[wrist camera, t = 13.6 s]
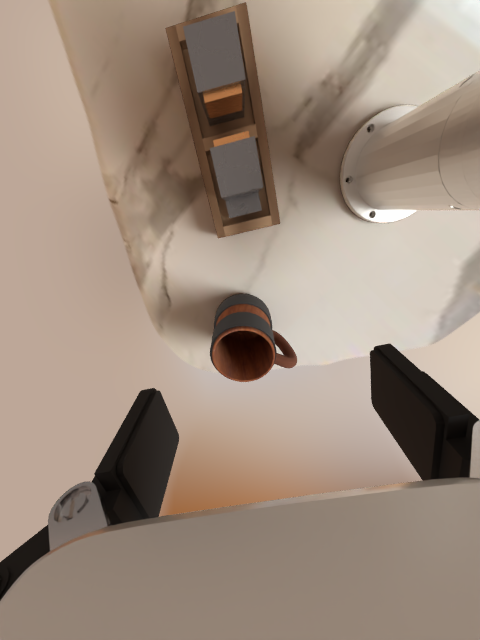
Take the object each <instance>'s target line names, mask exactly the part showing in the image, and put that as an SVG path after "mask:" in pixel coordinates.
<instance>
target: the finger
mask: <svg viewBox="0 0 480 640" xmlns="http://www.w3.org/2000/svg"><path fill="white" fill-rule="evenodd" d="M183 29H184V34H185V38H186V43H187V47H188V52H189V57H190V61H191V66H192V70H193V75H194V79H195V84H196V88H197V93H198V96H199V98H200V101H201V104H202V106H203V109H204V112H205V115H206V117H207V120H208V123H209V125H210V126H214V125H217V124H221V123H225V122H229V121H232V120H236V119H240V118H244V110H245V82H246V79H245V72H244V66H243V60H242V53H241V47H240V41H239V34H238V28H237V22H236V16H235V11H233V12H230V13H226V14H223V15H220V16H216V17H213V18H210V19H206V20H203V21H200V22H197V23H193V24H190V25H187V26H183Z"/></svg>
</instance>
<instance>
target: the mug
mask: <svg viewBox="0 0 480 640" xmlns="http://www.w3.org/2000/svg"><path fill="white" fill-rule="evenodd" d="M275 344H276V345H277V346H278V347H279V349H280V350H281V351H282V353H283V354H284V355H281V354H278V353H276V347H275ZM210 357H211V361H212V363H213V365H214V367H215V368H216V369H217V370H218V371H219V372H220V373H221V374H222V375H224V376H225V377H227V378H229V379H231V380H235V381H239V382H249V381H254V380H257V379H259V378H261V377H263V376H264V375H266V374H267V373H268V372H269V371H270V369H271V368H272V366H273V365H274V364H277V365H279V366H281V367H285V368H292V367H294V366H295V365H296V363H297V356H296V354H295V352H294V350H293V349H292V347H291V346H290V344H289V343H288V342H287V341H286V340H285V339H284V338H283V337H282V336H281V335H280V334H279V333H277V332H275V331H273V330H272V320H271V316H270V313H269V310H268V308H267V306H266V305H265V304H264V302H263V301H261V300H260V299H259V298H257V297H255V296H252V295H249V294H237V295H234V296H231V297H229V298H227V299H226V300H225V301H223V302H222V303H221V305H220V306H219V308H218V310H217V312H216V316H215V321H214V332H213V336H212V343H211V348H210Z"/></svg>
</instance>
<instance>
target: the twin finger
mask: <svg viewBox="0 0 480 640" xmlns="http://www.w3.org/2000/svg"><path fill="white" fill-rule="evenodd" d="M213 143H214V147H213V148H210V151H211V156H212V160H213V164H214V169H215V173H216V177H217V182H218V186H219V190H220V195H221V198H222V199H224V200H225V201H226V205H227V210H228V214H229V218H233V217H237V216H241V215H245V214H249V213H253V212H257V211H261V210H262V209H261V203H260V198H259V191H260V190H261V189H262V188H263V182H262V176H261V170H260V164H259V158H258V152H257V147H256V141H255V136H253V137H250V136H249V131H245V132H242V133H238V134H235V135H231V136H227V137H224V138H220V139H216V140H213Z"/></svg>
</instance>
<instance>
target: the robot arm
mask: <svg viewBox="0 0 480 640" xmlns="http://www.w3.org/2000/svg"><path fill="white" fill-rule="evenodd" d="M367 128H368V129H369V132H367ZM346 178H347V179H348V182H347V183H346V181H345V180H346ZM340 186H341V191H342V195H343V197H344V200H345V202H346V204H347V205H348V207H349V208H350V210H351V211H352V212H353V213H355V214H356V215H357V216H358V217H360V218H362V219H364V220H366V221H370V222H375V223H390V222H394V221H399V220H401V219H403V218H406V217H408V216H409V215H411V214H413V213H414V212H416V211H417V210H480V71H478V72H476V73H475V74H473V75H471V76H470V77H468V78H466V79H464V80H463V81H461V82H459V83H458V84H456V85H454V86H453V87H451V88H449V89H447V90H446V91H444V92H442V93H441V94H439V95H437V96H436V97H434V98H432V99H430V100H429V101H427V102H425V103H424V104H422V105H420V106H417V105H406V104H405V105H399V106H394V107H391V108H389V109H386V110H384V111H382V112H380V113H379V114H377V115H375V116H374V117H373V118H371V119H370V120H369V121H367V122H366V123H365V124H364V125H363V126H362V127H361V128H360V129H359V130H358V131H357V133H356V134H355V136H354V137H353V138H352V140H351V141H350V143H349V145H348V147H347V149H346V151H345V154H344V157H343V161H342V164H341V171H340ZM369 213H371V216H369ZM370 366H371V399H372V404H373V407H374V409H375V410H376V412H377V413H378V415H379V416H380V418H381V419H382V421H383V422H384V424H385V425H386V427H387V428H388V430H389V431H390V433H391V434H392V436H393V437H394V439H395V440H396V442H397V443H398V445H399V446H400V448H401V449H402V450H403V452H404V453H405V455H406V456H407V458H408V459H409V461H410V462H411V464H412V465H413V467H414V468H415V469H416V471H417V473H418V474H419V476H420V477H421V479H422V480H423V481H416V482H408V483H398V484H390V485H382V486H374V487H367V488H360V489H352V490H344V491H337V492H329V493H322V494H314V495H307V496H300V497H293V498H286V499H278V500H271V501H264V502H257V503H250V504H243V505H236V506H229V507H222V508H215V509H208V510H202V511H195V512H188V513H181V514H174V515H167V516H161V517H158V516H159V513H160V509H161V505H162V502H163V498H164V494H165V490H166V487H167V483H168V479H169V476H170V471H171V468H172V464H173V461H174V457H175V453H176V450H177V446H178V442H179V434H178V432H177V429H176V427H175V425H174V422H173V420H172V418H171V415H170V413H169V411H168V409H167V406H166V404H165V402H164V399H163V397H162V395H161V393H160V391H157V390H156V389H155V388H152V389H147V390H142V391H140V393H139V395H138V396H137V398H136V400H135V402H134V404H133V405H132V407H131V409H130V411H129V413H128V415H127V416H126V418H125V420H124V421H123V423H122V425H121V427H120V429H119V430H118V432H117V434H116V436H115V438H114V439H113V441H112V443H111V445H110V447H109V448H108V450H107V452H106V454H105V456H104V457H103V459H102V461H101V463H100V465H99V466H98V468H97V470H96V472H95V477H94V479H93V480H92V482H82V483H79V484H77V485H75V486H74V487H72V488H70V489H69V490H68V491H66V492H65V493H64V494H63V495H62V496H61V497H60V498H59V499H58V500H57V501H56V503H55V504H54V506H53V507H52V509H51V511H50V514H49V519H48V525H47V526H46V527H44V528H43V529H42V530H41V531H39V532H38V533H37V534H35V535H34V536H33V537H32V538H30V539H29V540H28V541H27V542H25V543H24V544H23V545H21V546H20V547H19V548H18V549H16V550H15V551H14V552H13V553H11V554H10V555H9V556H8V557H6V558H5V559H4V560H2V561H1V562H0V640H480V420H479V419H478V418H477V417H476V416H475V415H473V414H472V413H471V412H470V411H469V410H468V409H466V408H465V407H464V406H463V405H462V404H461V403H460V402H459V401H457V400H456V399H455V398H454V397H453V396H452V395H451V394H449V393H448V392H447V391H446V390H445V389H444V388H442V387H441V386H440V385H439V384H438V383H437V382H436V381H435V380H433V379H432V378H431V377H430V376H429V375H428V374H426V373H425V372H423V371H421V370H419V369H418V368H417V367H416V366H415V365H414V364H413V363H412V362H410V361H409V360H408V359H407V358H406V357H405V356H404V355H403V354H401V353H400V352H399V351H398V350H397V349H396V348H395V347H394V346H392V345H391V344H385V345H379V346H375V347H374V350H372V351H371V352H370Z"/></svg>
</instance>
